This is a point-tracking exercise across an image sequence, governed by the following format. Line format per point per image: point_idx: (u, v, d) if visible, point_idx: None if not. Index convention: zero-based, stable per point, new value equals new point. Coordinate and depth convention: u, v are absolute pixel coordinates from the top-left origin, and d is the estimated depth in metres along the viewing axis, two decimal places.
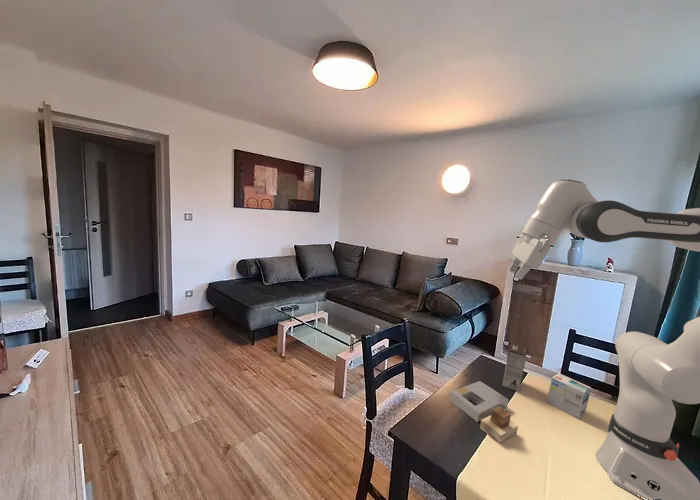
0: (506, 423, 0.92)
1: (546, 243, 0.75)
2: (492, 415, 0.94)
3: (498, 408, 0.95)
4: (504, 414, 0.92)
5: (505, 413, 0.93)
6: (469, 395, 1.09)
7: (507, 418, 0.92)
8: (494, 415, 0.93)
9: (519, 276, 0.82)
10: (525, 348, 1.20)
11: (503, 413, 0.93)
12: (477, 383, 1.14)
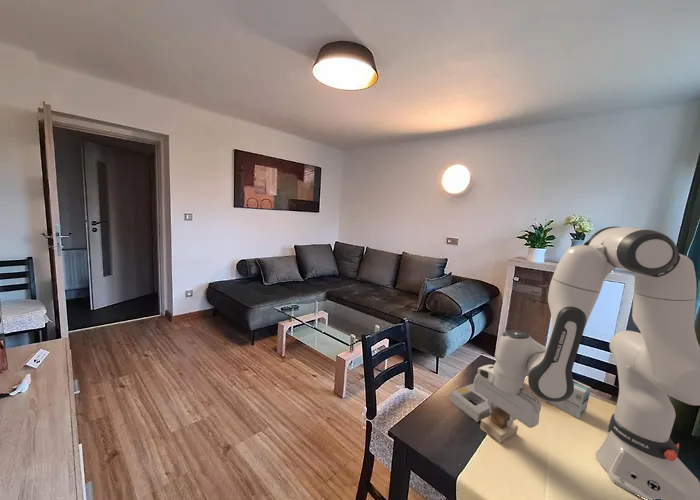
0: None
1: (540, 406, 0.83)
2: (492, 415, 0.94)
3: (498, 408, 0.95)
4: (504, 414, 0.92)
5: (505, 413, 0.93)
6: (469, 395, 1.09)
7: None
8: (494, 415, 0.93)
9: (510, 424, 0.91)
10: None
11: (503, 413, 0.93)
12: None
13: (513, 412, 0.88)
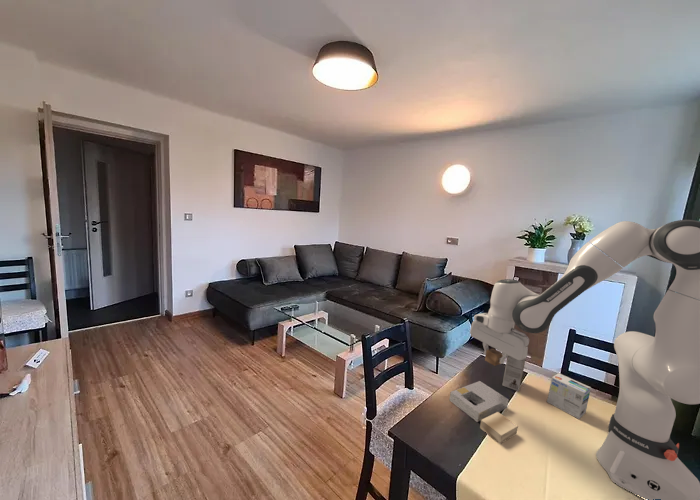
0: None
1: (528, 341, 0.96)
2: (486, 355, 1.06)
3: (492, 349, 1.07)
4: (497, 353, 1.04)
5: (498, 352, 1.05)
6: (469, 395, 1.09)
7: None
8: (488, 355, 1.06)
9: (502, 361, 1.03)
10: None
11: (496, 352, 1.05)
12: (477, 383, 1.14)
13: (505, 349, 1.01)
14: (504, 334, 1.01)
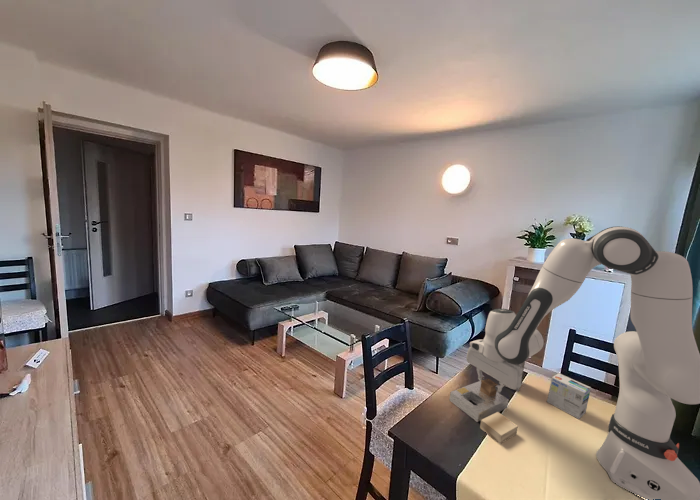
0: (493, 392, 1.07)
1: (522, 371, 0.98)
2: (481, 385, 1.09)
3: (487, 380, 1.10)
4: (491, 384, 1.07)
5: (493, 383, 1.08)
6: (469, 395, 1.09)
7: (494, 388, 1.07)
8: (483, 385, 1.08)
9: (500, 390, 1.05)
10: None
11: (491, 383, 1.08)
12: (477, 383, 1.14)
13: (499, 377, 1.03)
14: (499, 363, 1.03)
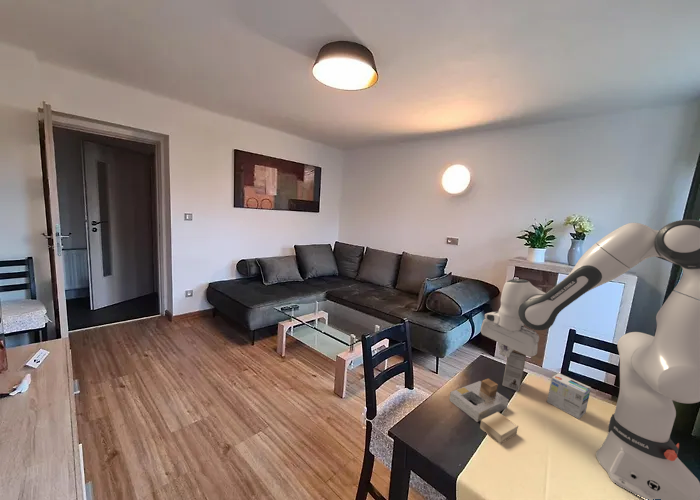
0: (493, 392, 1.07)
1: (538, 338, 0.99)
2: (481, 385, 1.09)
3: (487, 380, 1.10)
4: (491, 384, 1.07)
5: (493, 383, 1.08)
6: (469, 395, 1.09)
7: (494, 388, 1.07)
8: (483, 385, 1.08)
9: (508, 355, 1.09)
10: None
11: (491, 383, 1.08)
12: (477, 383, 1.14)
13: (515, 346, 1.04)
14: (514, 332, 1.05)
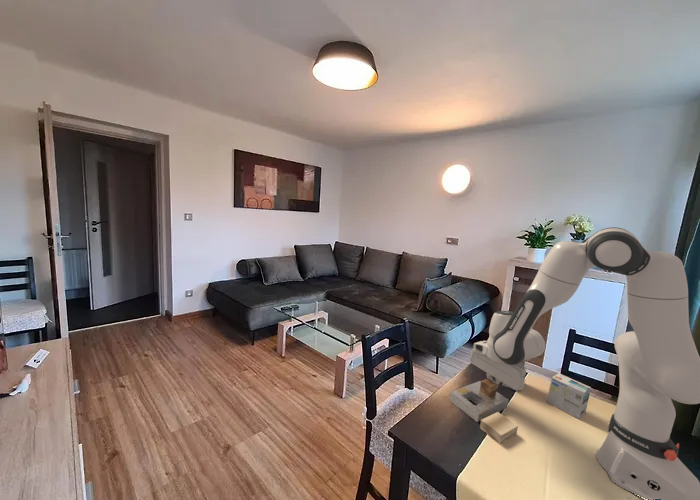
0: (493, 392, 1.07)
1: (525, 372, 0.99)
2: (481, 385, 1.09)
3: (486, 380, 1.10)
4: (491, 384, 1.07)
5: (492, 383, 1.08)
6: (469, 395, 1.09)
7: (494, 388, 1.07)
8: (483, 385, 1.08)
9: None
10: None
11: (490, 383, 1.07)
12: (477, 383, 1.14)
13: (503, 378, 1.04)
14: (502, 364, 1.05)
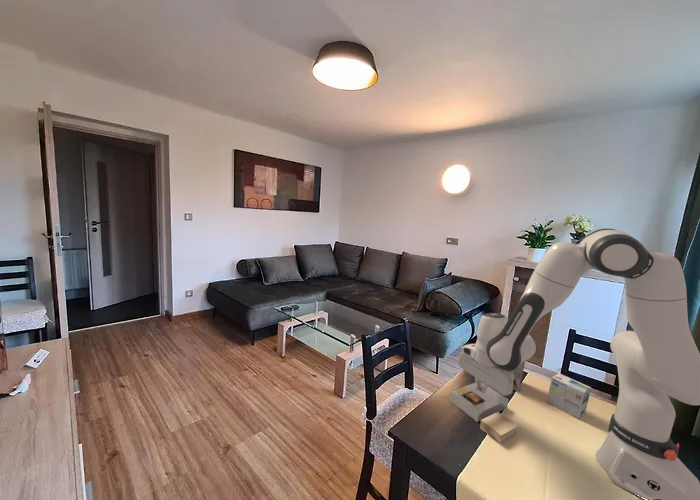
0: (479, 403, 1.04)
1: (513, 377, 0.96)
2: None
3: None
4: None
5: (472, 403, 1.03)
6: None
7: None
8: None
9: (484, 391, 1.05)
10: None
11: None
12: None
13: (491, 383, 1.01)
14: (490, 368, 1.01)
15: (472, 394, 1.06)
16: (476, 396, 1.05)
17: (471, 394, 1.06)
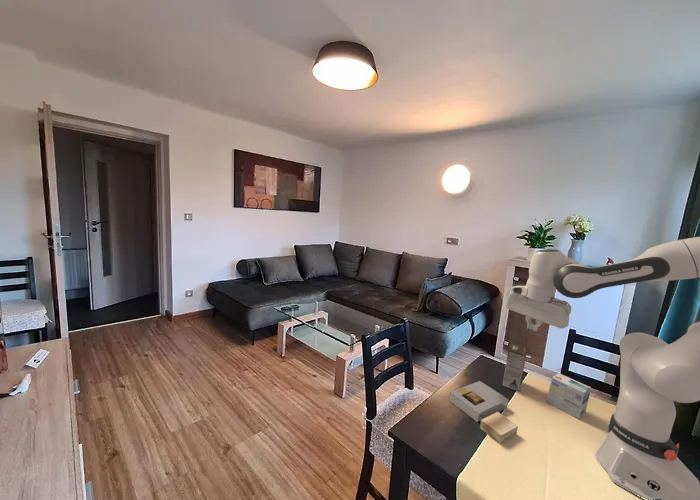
0: (479, 403, 1.04)
1: (570, 308, 0.95)
2: None
3: None
4: None
5: (472, 403, 1.03)
6: None
7: None
8: None
9: (536, 329, 1.05)
10: (525, 348, 1.20)
11: None
12: (477, 383, 1.14)
13: (545, 318, 1.00)
14: (544, 303, 1.01)
15: (472, 394, 1.06)
16: (476, 396, 1.05)
17: (471, 394, 1.06)
